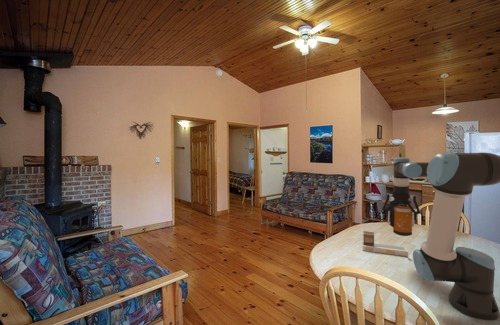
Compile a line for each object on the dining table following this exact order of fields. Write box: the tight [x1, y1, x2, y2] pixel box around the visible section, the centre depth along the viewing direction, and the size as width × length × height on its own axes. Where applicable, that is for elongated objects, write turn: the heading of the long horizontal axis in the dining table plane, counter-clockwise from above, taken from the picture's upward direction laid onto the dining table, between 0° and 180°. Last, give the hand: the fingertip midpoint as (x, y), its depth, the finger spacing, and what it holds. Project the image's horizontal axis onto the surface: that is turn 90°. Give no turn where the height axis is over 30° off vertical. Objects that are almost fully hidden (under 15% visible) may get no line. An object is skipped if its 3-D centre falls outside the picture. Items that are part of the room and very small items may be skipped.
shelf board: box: [361, 241, 409, 259], centre depth 155 cm, size 14×24×4 cm, turn 66°
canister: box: [388, 199, 413, 237], centre depth 138 cm, size 9×11×20 cm
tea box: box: [362, 230, 375, 246], centre depth 158 cm, size 6×6×9 cm
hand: (400, 224), depth 138 cm, fingers closed on canister, 11 cm apart
